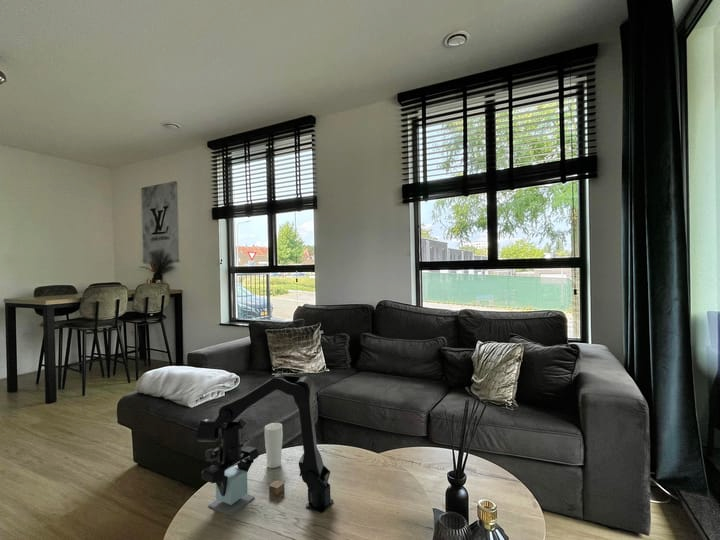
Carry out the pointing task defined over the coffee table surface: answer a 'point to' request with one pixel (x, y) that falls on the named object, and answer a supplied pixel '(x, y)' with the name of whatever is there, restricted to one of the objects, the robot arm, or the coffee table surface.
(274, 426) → the white tall cylinder
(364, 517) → the coffee table surface
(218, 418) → the robot arm
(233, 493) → the pale blue cube
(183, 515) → the coffee table surface
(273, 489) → the walnut block
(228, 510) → the gray square plate
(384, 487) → the coffee table surface
